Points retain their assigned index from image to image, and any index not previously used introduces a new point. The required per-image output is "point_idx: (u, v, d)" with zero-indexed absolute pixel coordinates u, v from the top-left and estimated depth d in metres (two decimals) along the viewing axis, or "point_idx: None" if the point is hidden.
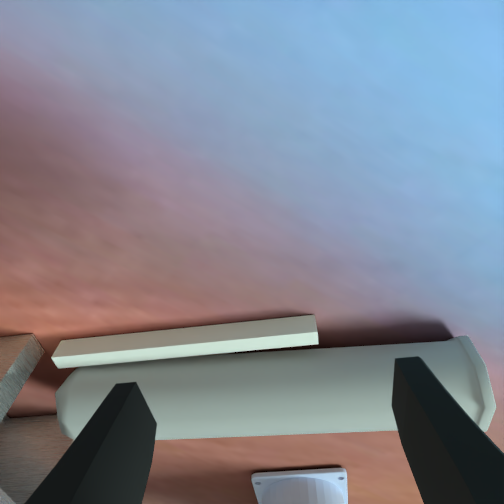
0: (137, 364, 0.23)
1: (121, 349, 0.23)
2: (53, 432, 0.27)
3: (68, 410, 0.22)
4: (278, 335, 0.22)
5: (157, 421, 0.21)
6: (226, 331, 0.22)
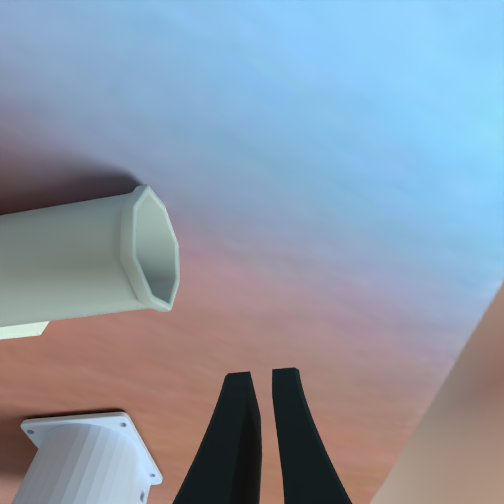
0: None
1: None
2: None
3: None
4: None
5: None
6: None
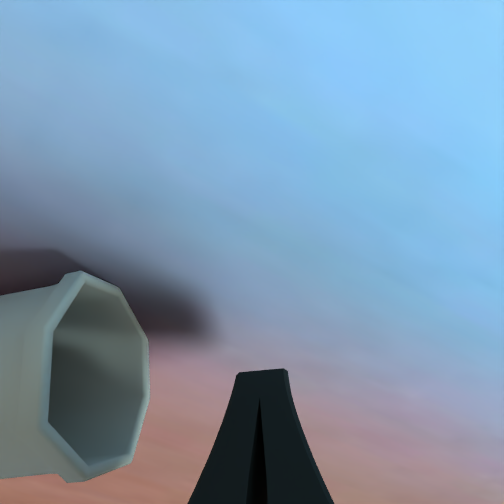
0: None
1: None
2: None
3: None
4: None
5: None
6: None
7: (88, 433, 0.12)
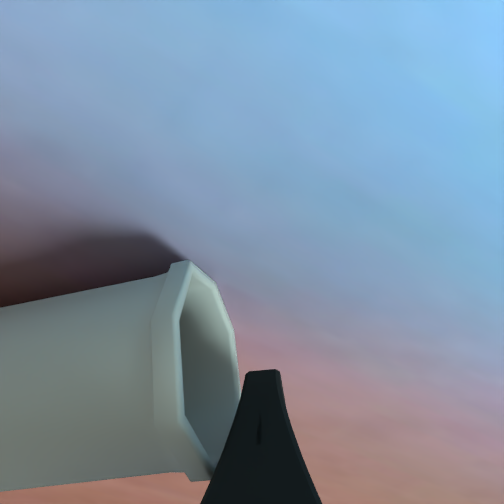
0: None
1: None
2: None
3: None
4: None
5: None
6: None
7: None
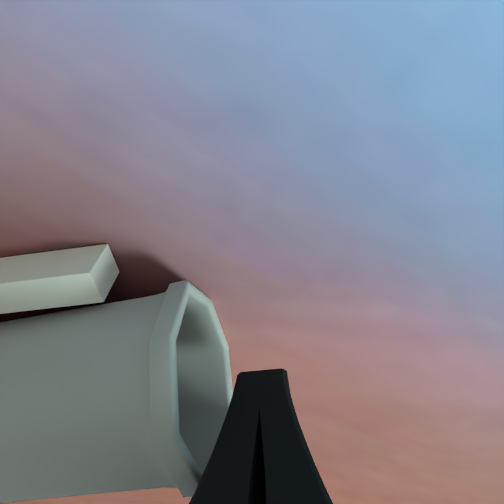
0: None
1: None
2: None
3: None
4: (10, 281, 0.10)
5: None
6: None
7: None
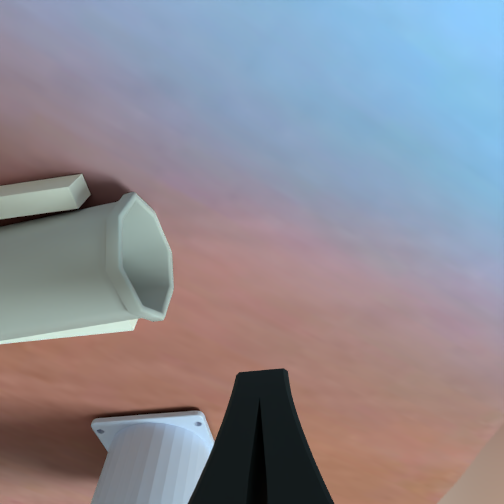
0: None
1: None
2: None
3: None
4: (18, 193, 0.16)
5: None
6: None
7: None
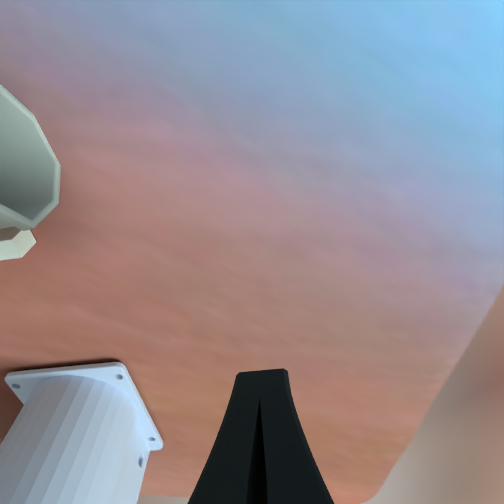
0: None
1: None
2: None
3: None
4: None
5: None
6: None
7: None
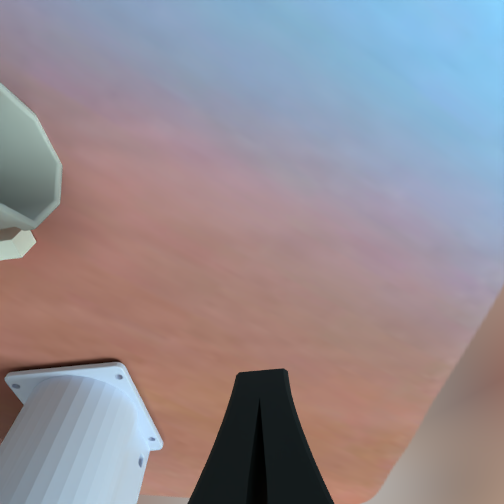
0: None
1: None
2: None
3: None
4: None
5: None
6: None
7: None
